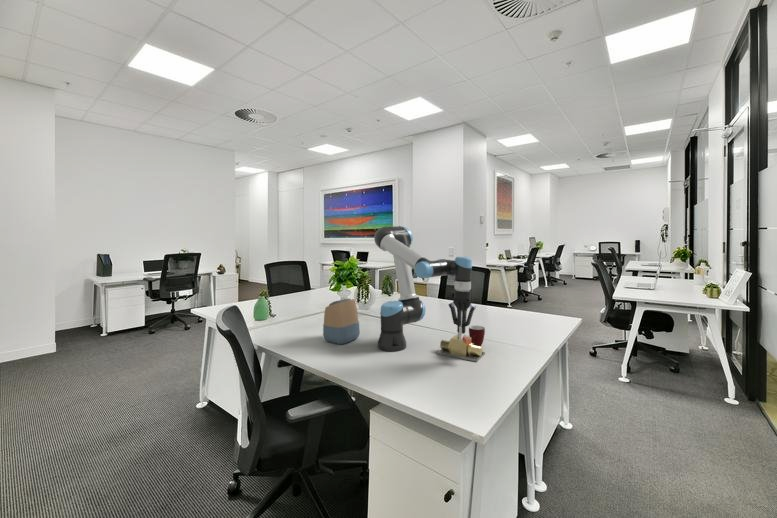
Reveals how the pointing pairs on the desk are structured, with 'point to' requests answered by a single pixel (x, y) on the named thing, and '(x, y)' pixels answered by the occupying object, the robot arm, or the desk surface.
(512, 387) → the desk surface
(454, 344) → the valve block
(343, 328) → the two-tone tapered canister
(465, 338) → the lever
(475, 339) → the mug
